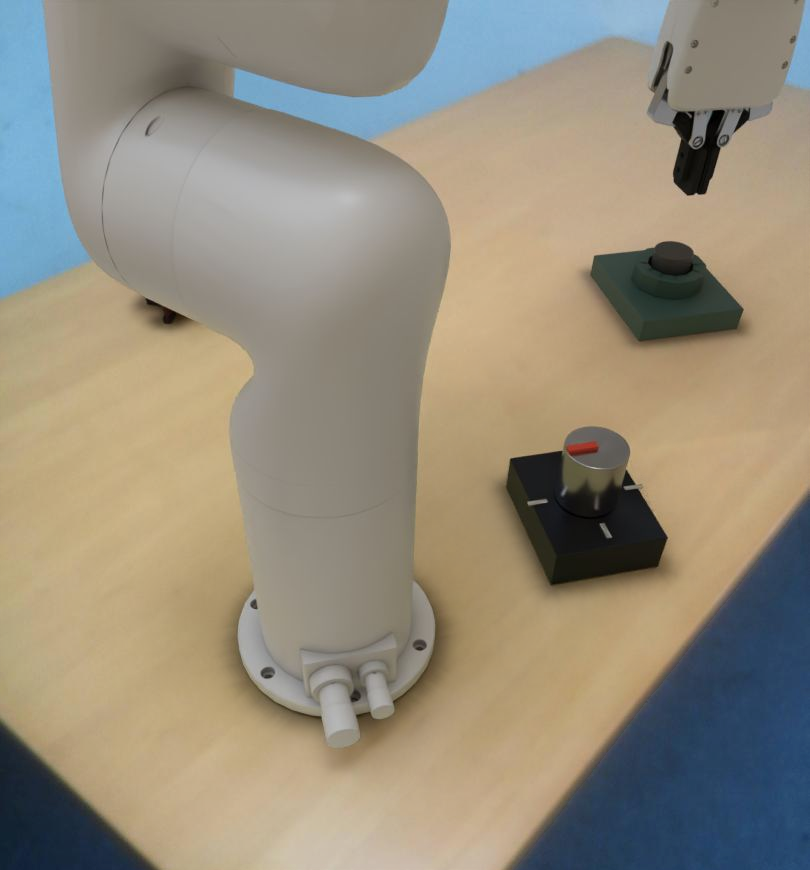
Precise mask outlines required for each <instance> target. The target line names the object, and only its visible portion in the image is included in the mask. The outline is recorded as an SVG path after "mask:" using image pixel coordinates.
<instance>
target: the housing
mask: <svg viewBox="0 0 810 870" xmlns="http://www.w3.org/2000/svg"><path fill="white" fill-rule="evenodd" d="M654 248H655V246H654V247H648V248H646V249H641V250H640V249H639V250H632V251H622V252H613V253H604V254H603V253H602V254H594V255H593V259H592V264H591V270H590V277H591V278H592V279H593V281H594V283H596V285H597V286H598V287H599V289H600V290H601V292H602V293H603V295H604V296H605V297H606V299H607V300H608V301H609V303H610V304H611V305H612V307H613V308H614V309H615V311H616V312H617V314H618V315H619V317H620V318H621V319H622V321H623V322H624V323H625V324H626V326H627V328H628V329H629V331H631V333H632V335H634V337H635V338H636V340H637V341H638V342H643V341H653V340H658V339H667V338H668V339H669V338H675V337H682V336H683V337H684V336H691V335H698V334H708V333H714V332H722V331H723V332H724V331H731V330H737V329H738V326H739V324H740V321H741V318H742V315H743V312H744V307H743V306H742V305H741V304H740V303H739V302H738V301H737V300H736V298H734V296H732V294H731V293H730V292H729V290H728V289H726V287H724V286H723V284H721V282H720V281H719V280H718V279H717V278H716V277H715V276H714V275H713V273H711V271H710V270H709V269H708V268H707V264H706V263H705V262H704V261H703V260H702V259H701V257H700V256H698V255H697V254H695V253H694V255H693V259H692V262H691V266H690V269H689V272H688V273H687V274H686V275H678V276H673V275H667V274H662V273H660V272H658V271H656V270H654V269H652V268H651V260H652V256H653V252H654Z"/></svg>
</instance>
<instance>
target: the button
mask: <svg viewBox="0 0 810 870" xmlns="http://www.w3.org/2000/svg"><path fill="white" fill-rule="evenodd" d="M654 247H655V248H654ZM654 247H653V248H654V252H653V256H652V260H651V268H652V269H654V270H656V271H658V272H660V273H662V274H667V275H673V276H678V275H686V274H687V273H688V272H689V269H690V266H691V262H692V259H693V255H694V254H695V252H694V250H693V248H692V247H690V246H689V245H688V244H686V243H683V242H680V241H675V240H665V241H660V242H658V243H657V244H656V245H655V246H654Z"/></svg>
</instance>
